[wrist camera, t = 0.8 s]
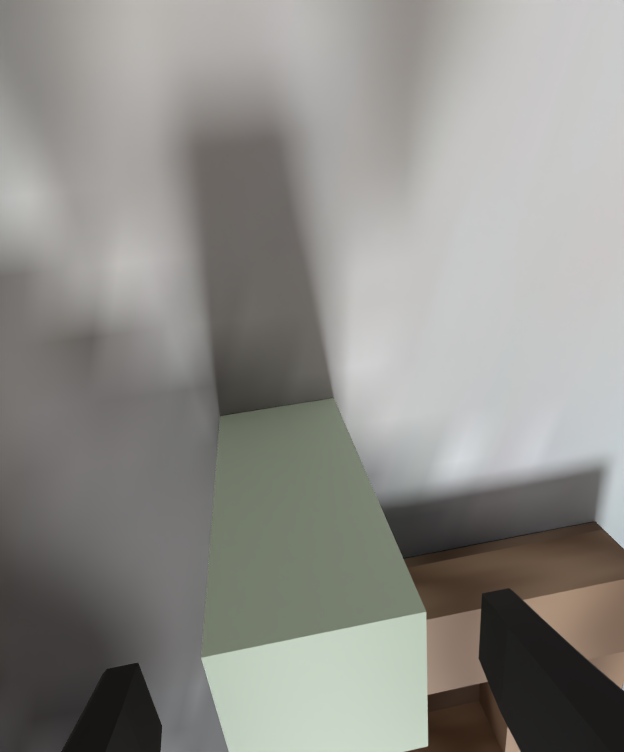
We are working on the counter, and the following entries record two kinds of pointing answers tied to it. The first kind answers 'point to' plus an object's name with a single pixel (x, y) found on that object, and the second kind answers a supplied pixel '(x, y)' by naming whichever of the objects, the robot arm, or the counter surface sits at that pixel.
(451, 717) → the socket block
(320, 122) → the counter surface
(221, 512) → the peg
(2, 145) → the counter surface
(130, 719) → the robot arm
